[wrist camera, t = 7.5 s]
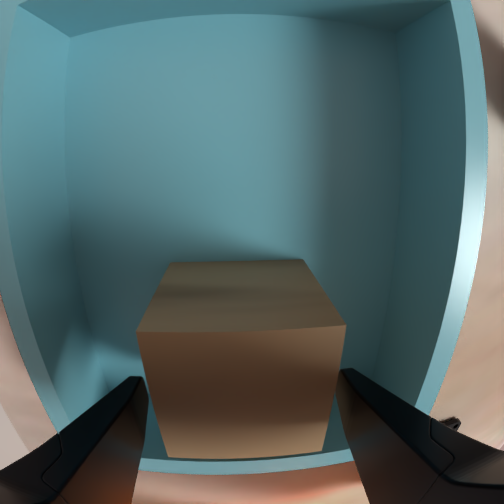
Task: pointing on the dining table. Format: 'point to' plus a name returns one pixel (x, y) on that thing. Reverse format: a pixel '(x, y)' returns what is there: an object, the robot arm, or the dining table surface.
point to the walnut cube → (241, 358)
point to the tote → (238, 181)
